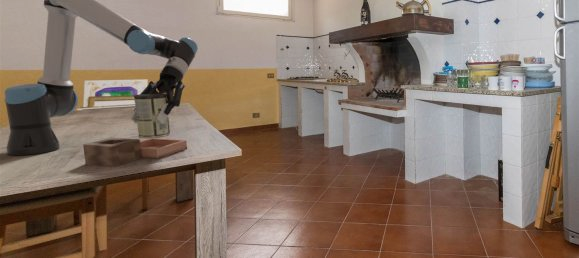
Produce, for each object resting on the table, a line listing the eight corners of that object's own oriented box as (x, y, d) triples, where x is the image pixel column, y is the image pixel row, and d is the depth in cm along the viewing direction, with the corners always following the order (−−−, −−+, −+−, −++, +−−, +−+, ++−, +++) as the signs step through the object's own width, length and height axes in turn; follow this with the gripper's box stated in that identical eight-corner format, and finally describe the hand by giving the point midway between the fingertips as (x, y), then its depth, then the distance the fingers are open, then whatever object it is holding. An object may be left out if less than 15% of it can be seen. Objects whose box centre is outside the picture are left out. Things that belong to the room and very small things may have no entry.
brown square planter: (85, 163, 103) (83, 144, 102) (115, 155, 114) (113, 137, 113) (113, 166, 100) (111, 146, 99) (141, 157, 110) (139, 139, 109)
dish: (120, 155, 113) (120, 146, 113) (153, 145, 127) (152, 138, 127) (157, 158, 108) (156, 149, 108) (186, 148, 122) (186, 140, 122)
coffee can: (147, 133, 122) (143, 93, 120) (175, 133, 121) (172, 93, 119) (131, 138, 112) (127, 95, 110) (161, 138, 111) (158, 95, 109)
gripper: (143, 65, 126) (112, 113, 114) (195, 63, 118) (168, 114, 106) (154, 79, 132) (126, 126, 120) (204, 79, 124) (180, 128, 112)
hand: (146, 121), depth 113 cm, fingers closed on coffee can, 10 cm apart
